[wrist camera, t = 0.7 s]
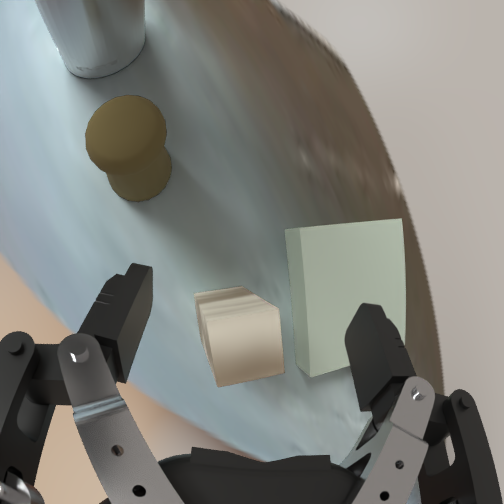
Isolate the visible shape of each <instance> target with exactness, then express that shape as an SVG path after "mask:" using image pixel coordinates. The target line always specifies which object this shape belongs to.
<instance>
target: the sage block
mask: <svg viewBox="0 0 504 504" xmlns="http://www.w3.org/2000/svg"><path fill="white" fill-rule="evenodd" d="M285 239H286V249H287V259H288V270H289V281H290V292H291V304H292V317H293V330H294V343H295V358H296V365H297V366H298V367H299V368H300V369H302V370H303V371H304V372H305V373H306V374H307V375H308V376H309V377H310V378H311V377H314V376H318V375H321V374H325V373H328V372H331V371H334V370H338V369H341V368H344V367H347V366H350V363H349V359H348V355H347V351H346V347H345V342H344V339H345V333H346V330H347V328H348V326H349V324H350V323H351V321H352V319H353V317H354V315H355V314H356V312H357V310H358V308H359V306H360V305H361V304H362V303H370V304H377V305H381V306H382V308H383V310H384V312H385V315H386V317H387V318H388V319H390V320H391V321H392V322H393V324H394V325H395V326H396V327H397V329H398V331H399V333H400V336H401V340H403V343H404V345H405V322H406V281H405V255H404V240H403V227H402V219H391V220H379V221H367V222H356V223H345V224H334V225H323V226H312V227H302V228H292V229H285Z"/></svg>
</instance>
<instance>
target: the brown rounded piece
mask: <svg viewBox="0 0 504 504" xmlns="http://www.w3.org/2000/svg"><path fill="white" fill-rule="evenodd" d="M166 135H167V131H166V123H165V119H164V117H163V115H162V113H161V111H160V110H159V108H158V107H157V106H155V105H154V104H153V103H152V102H151V101H150V100H148V99H145V98H143V97H141V96H134V95H125V96H120V97H115V98H113V99H111V100H110V101H108V102H106V103H104V104H103V105H102V106H101V107H100V108H99V109H97V110H96V111H95V113H94V114H93V116H92V117H91V119H90V121H89V122H88V126H87V129H86V133H85V138H86V150H87V152H88V154H89V157H90V159H91V160H92V161H93V162H94V164H95V165H96V166H97V167H98V168H99V169H100V170H102V171H104V172H106V174H107V177H108V180H109V182H110V185H111V187H112V189H113V190H114V191H115V192H116V193H117V194H118V195H119V196H120V197H122V198H124V199H126V200H128V201H136V202H140V201H145V200H149V199H151V198H153V197H155V196H156V195H158V194H159V193H160V192H161V191H162V190H163V189H164V188H165V187H166V185H167V183H168V181H169V179H170V175H171V170H172V166H171V159H170V156H169V154H168V153H167V151H166V149H165V147H164V145H165V140H166Z"/></svg>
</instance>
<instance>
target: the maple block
mask: <svg viewBox="0 0 504 504" xmlns="http://www.w3.org/2000/svg"><path fill="white" fill-rule="evenodd" d="M194 299H195V306H196V312H197V319H198V325H199V331H200V337H201V342H202V344H203V347H204V350H205V353H206V356H207V359H208V362H209V365H210V367H211V370H212V373H213V376H214V378H215V381H216V384H217V387H222V386H228V385H233V384H238V383H243V382H247V381H252V380H257V379H261V378H265V377H270V376H274V375H278V374H282V373H285V370H284V358H283V347H282V336H281V325H280V315H279V309H278V308H277V307H275V306H274V305H272V304H270V303H269V302H267V301H265V300H264V299H262V298H260V297H259V296H257V295H255V294H254V293H252V292H251V291H249V290H247V289H246V288H244V287H242V286H239V287H232V288H226V289H219V290H212V291H205V292H198V293H194Z"/></svg>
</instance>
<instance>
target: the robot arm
mask: <svg viewBox="0 0 504 504" xmlns="http://www.w3.org/2000/svg"><path fill="white" fill-rule="evenodd" d="M35 2H36V4H37V7H38V9H39V11H40V13H41V16H42V18H43V20H44V22H45V24H46V26H47V29H48V31H49V33H50V35H51V37H52V39H53V41H54V43H55V45H56V47H57V49H58V51H59V53H60V55H61V57H62V59H63V61H64V63H65V65H66V67H67V68H68V70H69V71H70V72H71V73H73V74H74V75H76V76H79V77H82V78H100V77H104V76H108V75H110V74H113V73H115V72H118V71H119V70H121V69H123V68H124V67H126V66H127V65H129V64H130V63H131V62H132V61H133V60H134V59H135V58H136V57H137V56H138V55H139V53H140V52H141V50H142V48H143V46H144V43H145V4H144V0H35ZM152 301H153V269H152V267H150V266H145V265H140V264H135V263H132V264H131V265H130V267H129V269H128V270H127V272H126V274H125V276H124V275H119V274H116V275H115V276H113V277H112V278H110V279H109V280H108V281H106V283H105V285H104V286H103V288H102V290H101V292H100V293H99V295H98V297H97V298H96V302H94V304H93V305H92V307H91V309H90V311H89V313H88V314H87V316H86V318H85V320H84V322H83V323H82V325H81V327H80V329H79V331H78V332H77V333H76V334H72V335H69V336H67V337H66V338H65V339H64V340H63V341H61V343H60V344H35V343H34V341H33V339H32V337H31V336H30V335H29V334H27V333H25V332H21V331H17V332H12V333H9V334H8V335H6V336H5V337H4V338H3V339H2V340H1V342H0V504H45V503H44V500H43V498H42V496H41V494H40V493H39V491H38V490H37V489H36V488H35V487H34V483H35V479H36V474H37V470H38V465H39V462H40V457H41V454H42V450H43V446H44V443H45V439H46V436H47V432H48V429H49V426H50V422H51V419H52V416H53V413H54V410H55V407H56V405H72V407H73V411H74V413H73V417H74V421H75V424H76V426H77V429H78V432H79V434H80V437H81V439H82V442H83V444H84V447H85V449H86V452H87V454H88V456H89V459H90V461H91V463H92V465H93V468H94V470H95V472H96V474H97V476H98V478H99V480H100V482H101V484H102V486H103V488H104V490H105V492H106V494H107V496H108V498H106V499H105V500H104V501H102V502H101V503H99V504H406V502H407V500H408V498H409V496H410V493H411V491H412V489H413V486H414V484H415V482H416V479H417V477H418V482H419V488H420V495H421V503H422V504H503V503H502V497H501V492H500V487H499V482H498V478H497V474H496V469H495V465H494V461H493V458H492V454H491V450H490V447H489V443H488V440H487V437H486V433H485V431H484V427H483V424H482V421H481V418H480V415H479V412H478V410H477V406H476V404H475V401H474V399H473V398H472V396H471V395H470V394H469V393H468V392H466V391H465V390H461V389H458V390H455V391H454V392H453V393H452V394H451V395H450V396H449V397H447V396H444V395H440V394H436V393H434V390H433V388H432V386H431V385H430V384H429V383H428V382H427V381H426V380H425V379H423V378H420V377H417V376H416V373H415V371H414V368H413V365H412V363H411V360H410V358H409V355H408V353H407V350H406V348H404V347H405V345H404V343H403V340H401V336H400V333H399V331H398V329H397V327H396V326H395V325H394V324H393V322H392V321H391V320H390V319H388V318H387V317H386V315H385V312H384V310H383V308H382V306H381V305H377V304H370V303H362V304H361V305H360V306H359V308H358V310H357V312H356V314H355V315H354V317H353V319H352V321H351V323H350V324H349V326H348V328H347V330H346V333H345V339H344V342H345V347H346V351H347V355H348V359H349V363H350V367H351V372H352V376H353V380H354V384H355V389H356V393H357V398H358V402H359V407H360V412H363V411H372V417H371V418H370V419H369V420H368V422H367V424H366V426H365V427H364V429H363V431H362V433H361V435H360V436H359V438H358V440H357V442H356V443H355V445H354V447H353V448H352V450H351V452H350V453H349V455H348V456H347V457H346V458H345V459H344V460H343V461H342V463H341V464H340V465H336V464H333V463H331V461H330V455H311V456H295V457H290V458H286V459H281V460H276V461H271V462H259V461H256V460H252V459H249V458H246V457H243V456H240V455H236V454H233V453H230V452H227V451H218V450H211V449H203V448H197V447H192V451H191V454H182V455H176V456H172V457H169V458H165V459H163V460H161V461H159V462H157V461H156V459H155V457H154V456H153V454H152V452H151V451H150V449H149V447H148V445H147V443H146V442H145V440H144V438H143V436H142V434H141V432H140V431H139V429H138V427H137V425H136V423H135V421H134V419H133V417H132V415H131V413H130V411H129V409H128V407H127V405H126V403H125V401H124V399H122V397H121V396H120V393H119V391H118V389H117V387H116V382H117V381H118V382H121V383H125V384H126V382H127V378H128V375H129V372H130V369H131V366H132V363H133V360H134V357H135V355H136V352H137V349H138V346H139V343H140V340H141V337H142V335H143V332H144V329H145V326H146V324H147V321H148V318H149V315H150V312H151V308H152ZM448 436H451V440H452V444H453V448H454V452H455V460H454V463H453V464H452V465H451V466H450V465H449V460H448V456H447V452H446V447H445V443H444V439H446V438H447V437H448Z"/></svg>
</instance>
